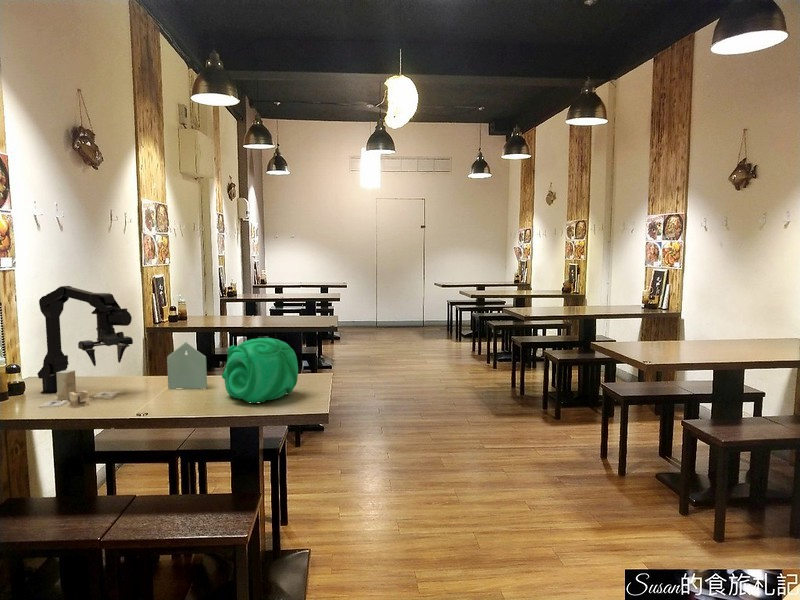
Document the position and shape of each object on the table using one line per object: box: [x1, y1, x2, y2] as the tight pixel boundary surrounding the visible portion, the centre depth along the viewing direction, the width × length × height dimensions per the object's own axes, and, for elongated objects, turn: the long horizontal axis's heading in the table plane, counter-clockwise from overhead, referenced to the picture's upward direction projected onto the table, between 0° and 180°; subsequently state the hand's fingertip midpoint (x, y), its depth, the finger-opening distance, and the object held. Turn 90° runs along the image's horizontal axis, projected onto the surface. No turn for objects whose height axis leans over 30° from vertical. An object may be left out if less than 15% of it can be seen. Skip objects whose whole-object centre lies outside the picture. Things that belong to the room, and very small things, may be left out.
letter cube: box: [69, 389, 90, 408], centre depth 212 cm, size 5×5×5 cm
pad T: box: [38, 400, 69, 408], centre depth 213 cm, size 7×7×1 cm
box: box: [56, 369, 77, 401], centre depth 221 cm, size 5×4×11 cm
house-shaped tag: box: [166, 342, 208, 390], centre depth 240 cm, size 16×8×20 cm, turn 88°
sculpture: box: [221, 337, 299, 403], centre depth 222 cm, size 27×28×30 cm
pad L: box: [93, 391, 120, 398], centre depth 227 cm, size 7×7×1 cm
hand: (107, 364), depth 226 cm, fingers open, 9 cm apart
